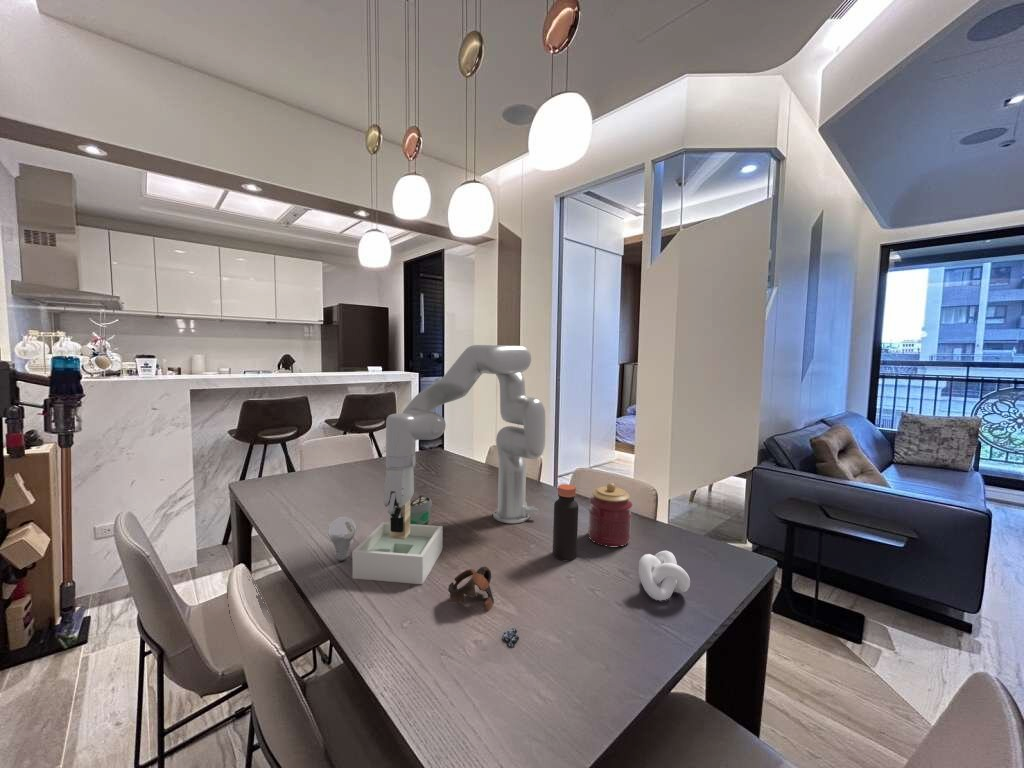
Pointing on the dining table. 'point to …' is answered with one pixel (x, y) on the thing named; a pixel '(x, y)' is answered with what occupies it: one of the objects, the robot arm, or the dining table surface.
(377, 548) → the bore plate
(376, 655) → the dining table surface
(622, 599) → the dining table surface
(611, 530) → the canister
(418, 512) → the food container
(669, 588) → the white knot sculpture
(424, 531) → the open box
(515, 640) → the blueberries
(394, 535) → the maple peg
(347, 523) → the light bulb
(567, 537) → the bottle
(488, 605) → the brown looped sculpture
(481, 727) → the dining table surface
